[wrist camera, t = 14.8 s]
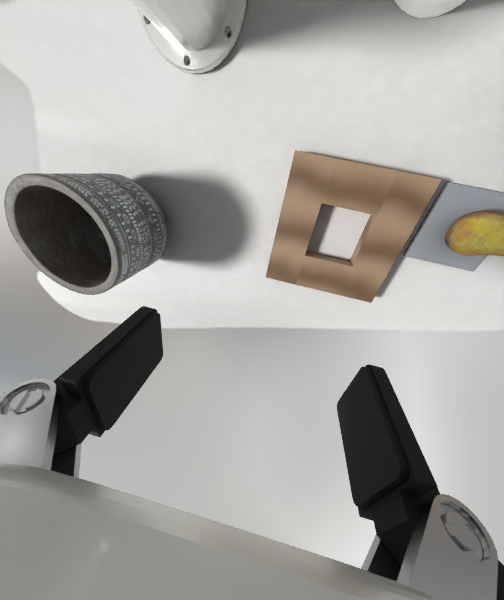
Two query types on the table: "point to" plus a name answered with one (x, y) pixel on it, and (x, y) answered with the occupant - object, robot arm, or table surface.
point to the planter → (85, 227)
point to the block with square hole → (355, 196)
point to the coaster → (443, 215)
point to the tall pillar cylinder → (427, 7)
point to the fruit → (477, 234)
